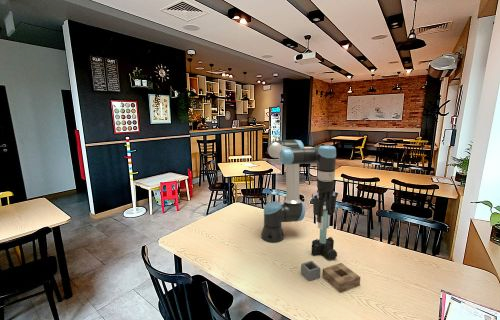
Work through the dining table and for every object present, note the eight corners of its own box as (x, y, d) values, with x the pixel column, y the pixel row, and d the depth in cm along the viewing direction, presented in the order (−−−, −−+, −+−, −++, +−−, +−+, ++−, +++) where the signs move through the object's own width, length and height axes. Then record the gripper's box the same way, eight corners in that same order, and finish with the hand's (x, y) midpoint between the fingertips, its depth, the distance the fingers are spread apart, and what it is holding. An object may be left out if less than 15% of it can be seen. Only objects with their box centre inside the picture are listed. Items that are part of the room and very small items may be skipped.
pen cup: (300, 274, 119) (301, 263, 118) (311, 271, 121) (311, 260, 120) (308, 282, 113) (309, 271, 112) (319, 279, 115) (320, 268, 114)
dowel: (318, 241, 113) (319, 209, 110) (323, 240, 114) (324, 208, 111) (322, 244, 110) (323, 211, 107) (327, 243, 111) (329, 210, 108)
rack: (322, 277, 116) (322, 268, 115) (340, 271, 121) (341, 262, 120) (340, 294, 105) (340, 284, 105) (359, 286, 110) (360, 277, 109)
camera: (319, 264, 127) (320, 247, 126) (309, 253, 137) (310, 237, 136) (341, 259, 131) (342, 243, 130) (329, 249, 141) (330, 234, 140)
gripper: (316, 183, 100) (314, 234, 104) (345, 179, 106) (342, 228, 110) (306, 179, 107) (304, 227, 111) (334, 176, 113) (331, 222, 117)
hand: (323, 227), depth 111 cm, fingers closed on dowel, 3 cm apart
